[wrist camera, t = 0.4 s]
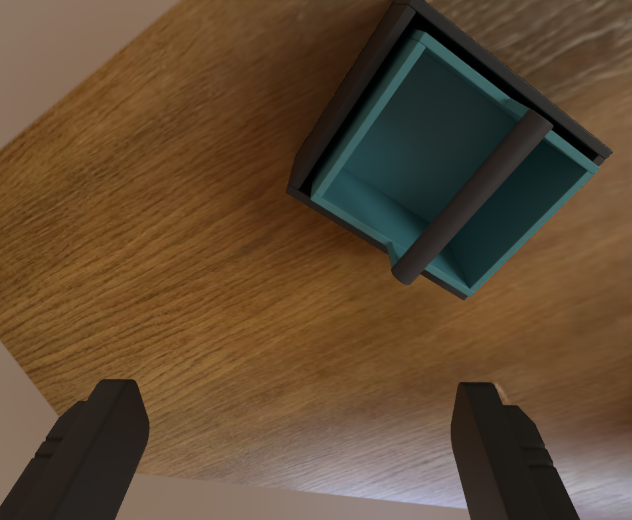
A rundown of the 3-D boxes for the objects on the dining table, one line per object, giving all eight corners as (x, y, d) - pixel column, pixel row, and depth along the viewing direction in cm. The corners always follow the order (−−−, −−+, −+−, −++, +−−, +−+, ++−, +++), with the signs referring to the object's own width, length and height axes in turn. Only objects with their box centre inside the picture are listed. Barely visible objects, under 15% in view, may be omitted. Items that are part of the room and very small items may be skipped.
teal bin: (315, 154, 34) (306, 226, 23) (401, 24, 30) (440, 36, 19) (441, 236, 37) (486, 333, 26) (537, 129, 33) (640, 192, 22)
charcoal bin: (294, 157, 35) (285, 192, 28) (397, -5, 29) (415, -8, 23) (441, 250, 39) (463, 300, 32) (558, 122, 33) (614, 152, 26)
